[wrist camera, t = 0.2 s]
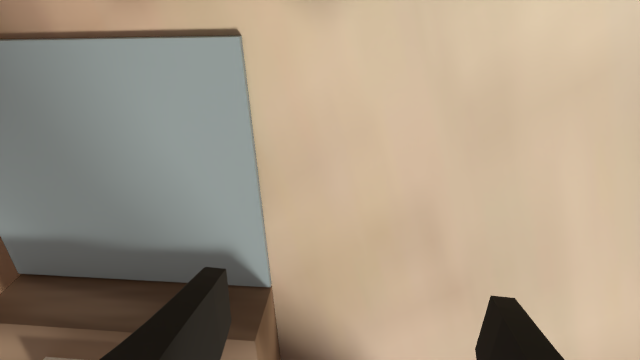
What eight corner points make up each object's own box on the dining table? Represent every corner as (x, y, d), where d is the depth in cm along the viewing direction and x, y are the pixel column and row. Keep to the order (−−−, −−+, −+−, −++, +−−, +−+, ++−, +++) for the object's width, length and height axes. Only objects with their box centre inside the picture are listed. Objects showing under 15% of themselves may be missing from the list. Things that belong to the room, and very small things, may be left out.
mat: (271, 283, 26) (270, 287, 25) (21, 270, 27) (18, 273, 27) (241, 35, 19) (239, 37, 18) (-88, 40, 21) (-94, 42, 20)
